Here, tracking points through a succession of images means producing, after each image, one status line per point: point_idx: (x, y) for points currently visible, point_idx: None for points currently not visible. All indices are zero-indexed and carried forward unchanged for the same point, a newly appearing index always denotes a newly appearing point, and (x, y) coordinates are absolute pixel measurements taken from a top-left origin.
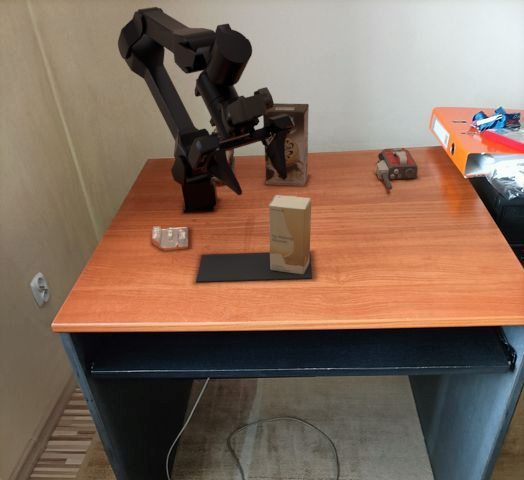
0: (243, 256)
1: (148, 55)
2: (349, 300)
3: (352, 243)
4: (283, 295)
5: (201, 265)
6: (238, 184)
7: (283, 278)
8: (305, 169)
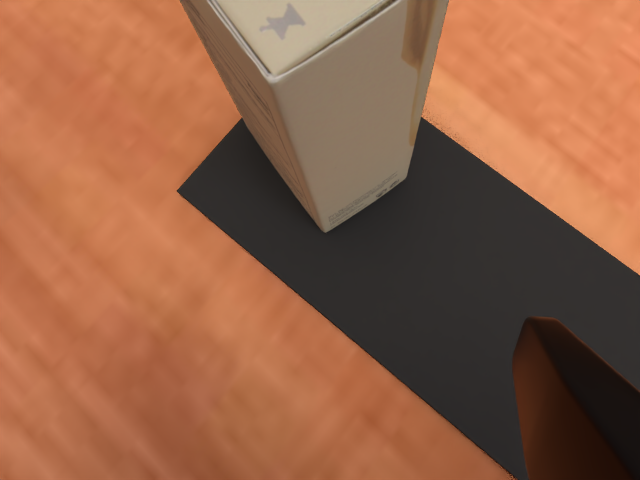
0: (424, 359)
1: None
2: None
3: (11, 132)
4: (465, 28)
5: None
6: (577, 371)
7: None
8: None
